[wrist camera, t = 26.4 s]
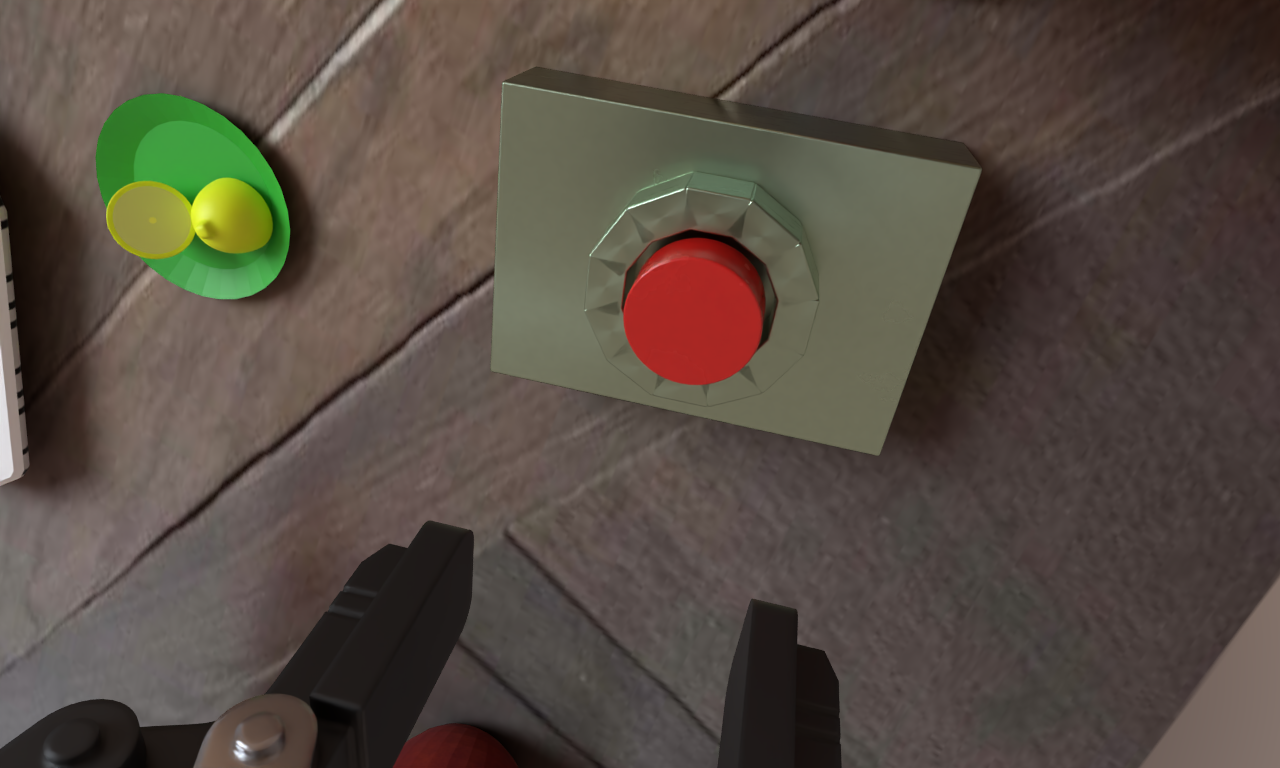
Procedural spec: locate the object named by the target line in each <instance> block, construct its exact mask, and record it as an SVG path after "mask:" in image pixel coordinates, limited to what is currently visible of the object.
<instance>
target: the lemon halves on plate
mask: <svg viewBox="0 0 1280 768" xmlns="http://www.w3.org/2000/svg"><path fill="white" fill-rule="evenodd" d="M96 170H97V179H98V183H99V187H100V191H101V195H102V198H103V200H104V203H105V205H106V208H107V213H106V219H107V225H108V228H109V230H110V233H111V234H112V236H113V238H114V239H115V240H116V241H117V243H118V244H119V245H121V246H122V247H123V248H124V249H126V250H127V251H129V252H131V253H132V254H135V255H137V256H139V257H140V258H141V259H142V260H143V261H144V262H145V263H146V264H147V265H148V266H149V267H151V268H152V269H153V270H155V271H156V272H157V273H159V274H160V275H161V276H163V277H164V278H165V279H167V280H168V281H170V282H172V283H174V284H176V285H177V286H179V287H181V288H183V289H185V290H188V291H190V292H193V293H196V294H198V295H201V296H205V297H211V298H216V299H238V298H242V297H247V296H251V295H253V294H255V293H257V292H259V291H261V290H262V289H264V288H266V287H267V286H268V285H269V284H270V283H271V282H272V281H273V280H274V279H275V278H276V277H277V275H278V273H279V272H280V270H281V268H282V267H283V265H284V262H285V259H286V256H287V252H288V249H289V238H290V225H289V217H288V210H287V207H286V203H285V200H284V197H283V193H282V190H281V188H280V186H279V184H278V182H277V180H276V177H275V175H274V173H273V171H272V169H271V168H270V166H269V165H268V163H267V162H266V160H265V159H264V157H263V156H262V154H261V153H260V151H259V150H258V149H257V148H256V146H255V145H254V144H253V143H252V142H251V141H250V140H249V139H248V138H247V137H246V136H245V134H244V133H243V132H242V131H241V130H240V129H238V128H237V127H236V126H235V125H233V124H232V123H231V122H230V121H228V120H227V119H226V118H225V117H224V116H222V115H220V114H219V113H217V112H215V111H214V110H212V109H210V108H208V107H207V106H205V105H203V104H201V103H198V102H195V101H193V100H190V99H187V98H185V97H181V96H175V95H169V94H163V93H162V94H148V95H142V96H139V97H136V98H133V99H130V100H128V101H126V102H125V103H124V104H122V105H121V106H119V107H118V108H117V109H115V110H114V111H113V113H112V114H111V115H110V117H109V118H108V119H107V121H106V122H105V123H104V126H103V128H102V131H101V133H100V136H99V138H98V144H97V151H96Z"/></svg>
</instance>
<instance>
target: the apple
mask: <svg viewBox="0 0 1280 768" xmlns="http://www.w3.org/2000/svg"><path fill="white" fill-rule="evenodd" d="M393 768H518V766H517V764H516V762H515V761H514V759H513V757H512V756H511V755H510V754H509V753H508V751H507V750H506V749H505V748H504V747H503V746H502V745H501V743H499V742H498V741H497V740H496V739H495V738H494V737H492V736H491V735H489V734H488V733H486V732H484V731H482V730H480V729H478V728H475V727H473V726H470V725H465V724H457V723H453V724H445V725H441V726H437V727H433V728H430V729H428V730H426V731H424V732H423V733H421V734H419V735H417V736H415V737H413V738H412V739H410V740H408V741H407V742H406V743H405V744H404V746H403V748H402V750H401V752H400V754H399V756H398V758H397V760H396V762H395V764H394V766H393Z"/></svg>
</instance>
